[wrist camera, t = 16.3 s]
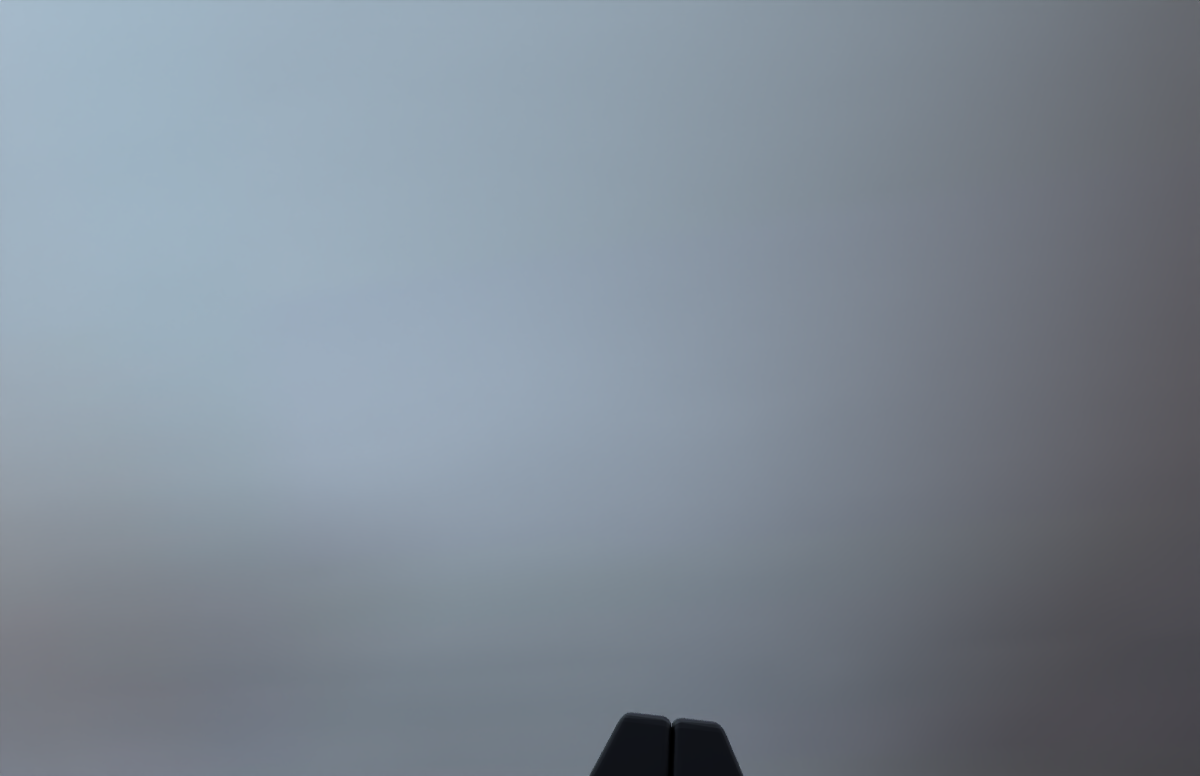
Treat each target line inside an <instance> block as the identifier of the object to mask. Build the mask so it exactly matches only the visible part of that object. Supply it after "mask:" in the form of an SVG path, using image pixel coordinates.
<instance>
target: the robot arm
mask: <svg viewBox="0 0 1200 776" xmlns="http://www.w3.org/2000/svg"><path fill="white" fill-rule="evenodd" d="M590 776H743V774H742V771H741V769H740V767H739V764H738V762H737V759H736V757H735V755H734V752H733V750H732V747H731V745H730V743H729V740H728V738H727V735H726V733H725V731H724V730H723V728H722V727H721V726H720V725H719V724H718V723H716V722H711V721H703V720H694V719H685V718H678V719H676V720H675V721H674V722H673V723H672V727H671V723H670V721H669V719H667V718H666V717H664V716H659V715H650V714H641V713H632V712H630V713H626V714H624V715H623V716H622V717H621V719H620V720H619V722H618V724H617V725H616V727H615V729H614V731H613V733H612V735H611V737H610V738H609V740H608V742H607V744H606V746H605V748H604V750H603V751H602V753H601V755H600V757H599V759H598V761H597V763H596V765H595V766H594V768H593V770H592V772H591V774H590Z"/></svg>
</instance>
